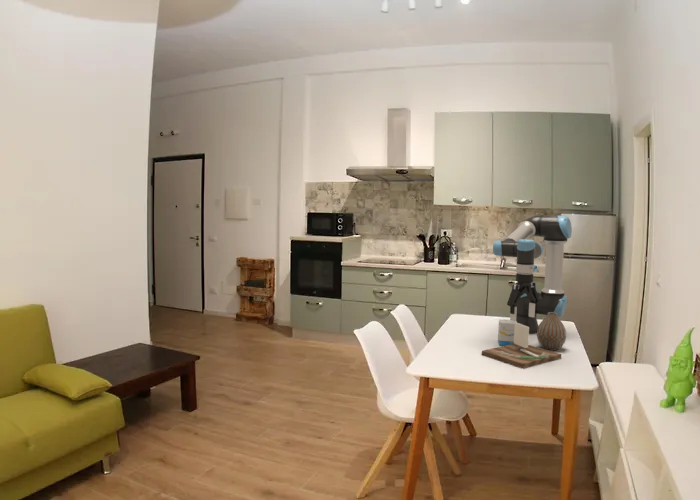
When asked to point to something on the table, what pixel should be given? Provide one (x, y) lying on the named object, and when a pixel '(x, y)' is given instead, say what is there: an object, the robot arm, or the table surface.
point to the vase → (551, 332)
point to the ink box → (506, 332)
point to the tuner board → (521, 355)
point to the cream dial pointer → (522, 338)
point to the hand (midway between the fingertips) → (522, 318)
